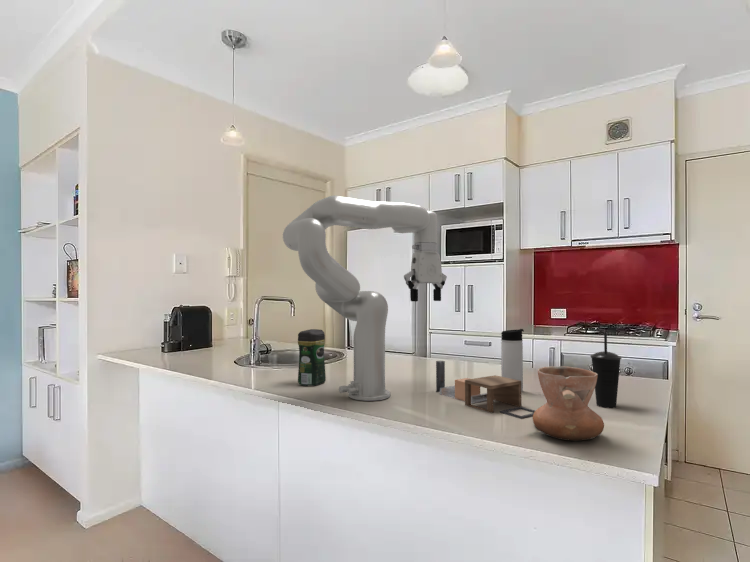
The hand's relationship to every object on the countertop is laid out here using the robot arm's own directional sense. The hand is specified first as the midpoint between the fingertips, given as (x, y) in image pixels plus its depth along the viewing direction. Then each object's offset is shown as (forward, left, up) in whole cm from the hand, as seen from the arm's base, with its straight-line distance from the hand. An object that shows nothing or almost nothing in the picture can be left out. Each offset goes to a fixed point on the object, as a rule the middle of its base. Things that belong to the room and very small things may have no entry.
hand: (425, 301), depth 148 cm
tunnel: (-3, -31, -28) cm, 42 cm away
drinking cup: (+27, -45, -28) cm, 60 cm away
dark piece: (-3, -40, -28) cm, 49 cm away
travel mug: (+16, -22, -28) cm, 39 cm away
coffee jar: (-29, +26, -28) cm, 48 cm away
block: (-3, -22, -27) cm, 35 cm away
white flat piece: (-3, -18, -28) cm, 34 cm away
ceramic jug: (-4, -54, -29) cm, 61 cm away
